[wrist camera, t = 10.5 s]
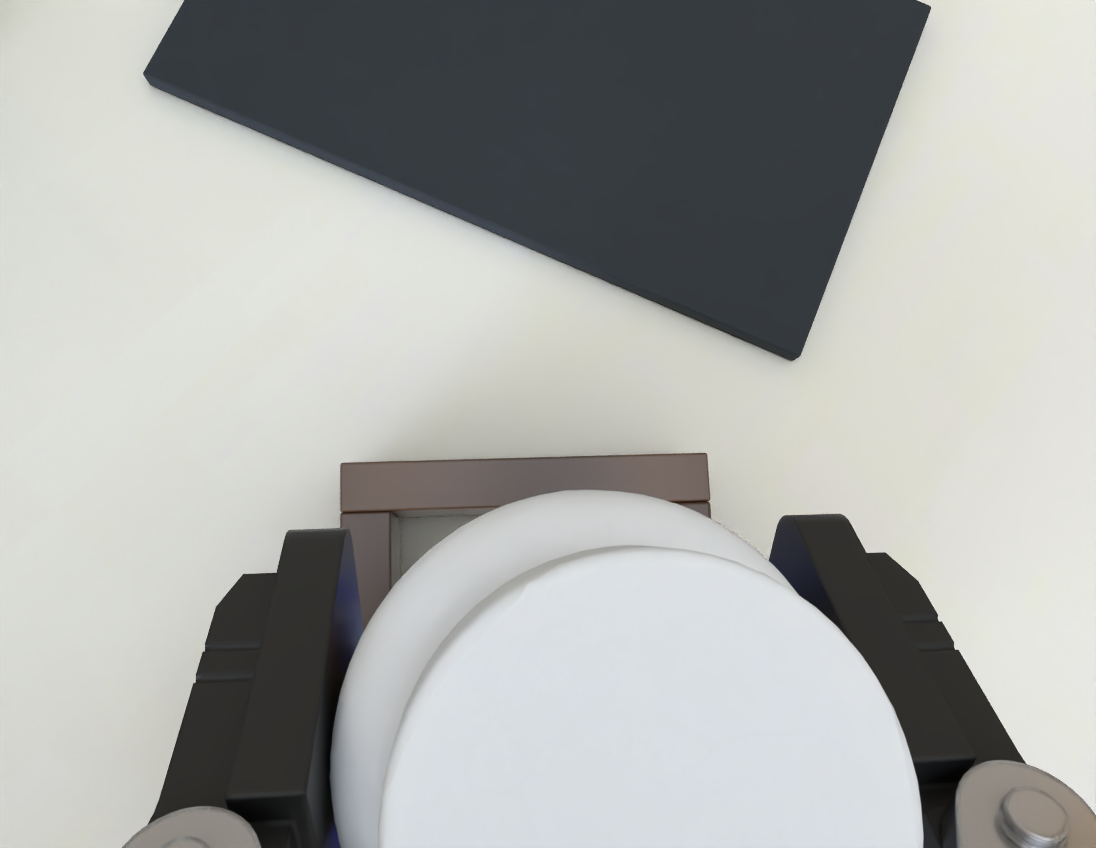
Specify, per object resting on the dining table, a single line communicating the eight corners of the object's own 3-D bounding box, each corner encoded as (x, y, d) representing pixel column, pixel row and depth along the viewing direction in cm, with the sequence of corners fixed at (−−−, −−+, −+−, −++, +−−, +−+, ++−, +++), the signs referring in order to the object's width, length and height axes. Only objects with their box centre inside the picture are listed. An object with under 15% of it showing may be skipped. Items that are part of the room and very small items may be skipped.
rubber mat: (149, 85, 25) (141, 73, 25) (331, -238, 27) (327, -255, 27) (793, 362, 25) (800, 357, 25) (923, 18, 27) (932, 6, 27)
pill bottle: (344, 588, 16) (145, 605, 6) (624, 479, 16) (832, 344, 7) (453, 891, 15) (416, 1440, 5) (738, 764, 16) (1146, 1049, 6)
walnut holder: (355, 829, 22) (339, 862, 20) (355, 474, 24) (340, 462, 21) (705, 808, 23) (733, 837, 20) (683, 465, 25) (707, 452, 22)
